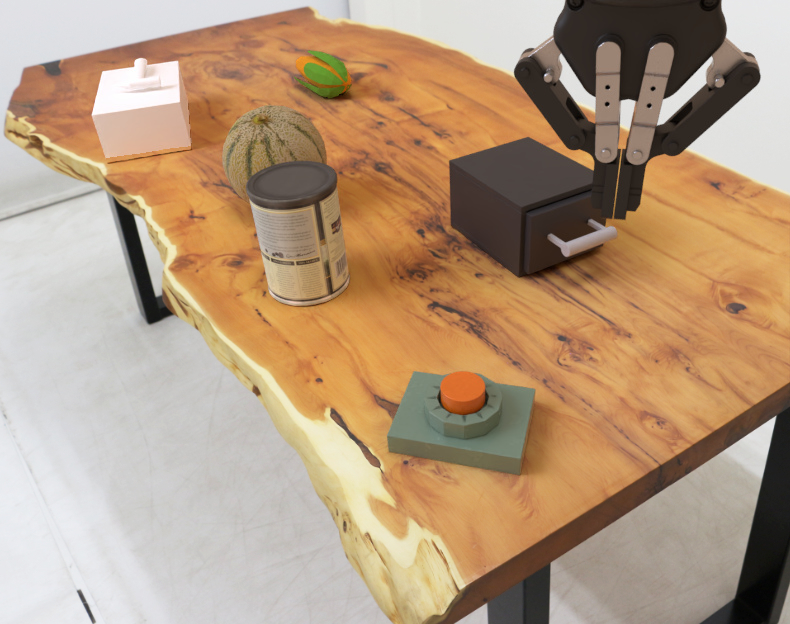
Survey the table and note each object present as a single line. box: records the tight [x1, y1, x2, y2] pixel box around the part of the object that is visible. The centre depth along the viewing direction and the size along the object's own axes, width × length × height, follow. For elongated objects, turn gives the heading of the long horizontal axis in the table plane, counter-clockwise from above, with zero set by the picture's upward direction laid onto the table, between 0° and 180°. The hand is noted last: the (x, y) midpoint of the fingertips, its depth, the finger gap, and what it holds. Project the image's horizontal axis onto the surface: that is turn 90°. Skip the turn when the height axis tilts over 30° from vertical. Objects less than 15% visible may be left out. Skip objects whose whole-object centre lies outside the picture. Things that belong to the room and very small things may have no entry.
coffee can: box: [246, 161, 351, 307], centre depth 84 cm, size 10×10×14 cm
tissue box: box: [91, 57, 192, 159], centre depth 131 cm, size 14×25×11 cm, turn 15°
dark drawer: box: [523, 190, 618, 275], centre depth 88 cm, size 19×11×8 cm, turn 28°
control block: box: [386, 370, 537, 476], centre depth 66 cm, size 12×9×4 cm
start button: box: [440, 370, 485, 415], centre depth 64 cm, size 4×4×2 cm
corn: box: [293, 49, 353, 99], centre depth 144 cm, size 7×8×20 cm
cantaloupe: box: [221, 104, 328, 205], centre depth 102 cm, size 15×15×15 cm
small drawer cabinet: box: [448, 136, 594, 278], centre depth 91 cm, size 16×13×10 cm
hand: (614, 213), depth 43 cm, fingers closed
